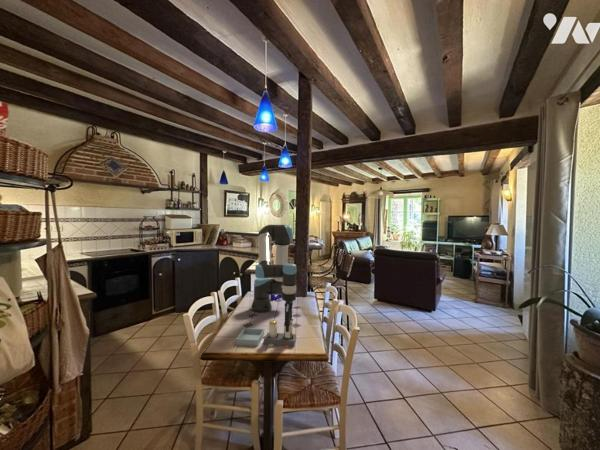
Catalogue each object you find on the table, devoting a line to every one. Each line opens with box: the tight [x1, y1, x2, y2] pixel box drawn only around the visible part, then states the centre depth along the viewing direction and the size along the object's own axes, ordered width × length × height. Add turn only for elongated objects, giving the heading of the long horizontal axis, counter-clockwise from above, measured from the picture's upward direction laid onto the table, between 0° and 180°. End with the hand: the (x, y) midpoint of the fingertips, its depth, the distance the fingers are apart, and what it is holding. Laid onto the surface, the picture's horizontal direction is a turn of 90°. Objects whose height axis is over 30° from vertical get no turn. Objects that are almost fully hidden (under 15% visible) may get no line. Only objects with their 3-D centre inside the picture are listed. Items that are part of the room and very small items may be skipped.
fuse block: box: [263, 331, 297, 348], centre depth 139 cm, size 9×16×3 cm, turn 84°
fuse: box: [268, 319, 278, 339], centre depth 140 cm, size 4×4×10 cm
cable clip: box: [270, 295, 282, 301], centre depth 217 cm, size 12×4×6 cm, turn 141°
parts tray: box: [235, 327, 265, 347], centre depth 142 cm, size 14×12×3 cm
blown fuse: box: [283, 321, 293, 340], centre depth 139 cm, size 4×4×10 cm
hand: (288, 334), depth 139 cm, fingers closed on blown fuse, 4 cm apart
